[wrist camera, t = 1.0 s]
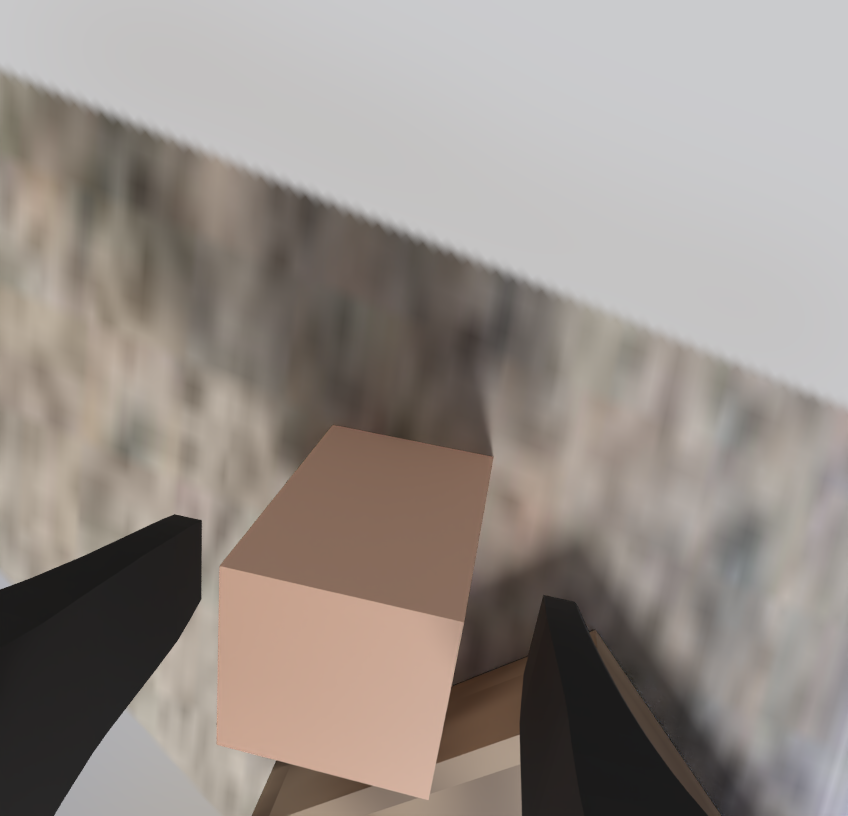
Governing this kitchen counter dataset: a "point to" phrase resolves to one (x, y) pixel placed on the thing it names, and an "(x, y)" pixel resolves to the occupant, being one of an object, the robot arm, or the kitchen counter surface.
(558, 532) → the kitchen counter surface
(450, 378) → the kitchen counter surface
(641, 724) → the tray
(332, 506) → the block
